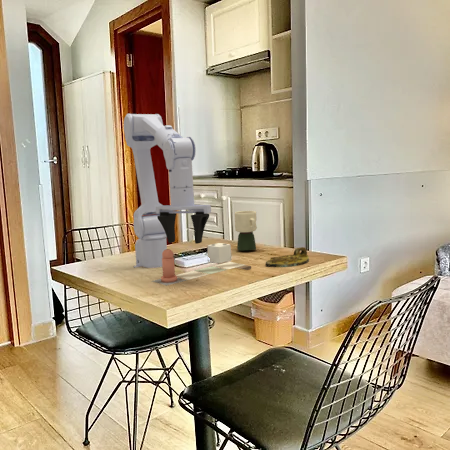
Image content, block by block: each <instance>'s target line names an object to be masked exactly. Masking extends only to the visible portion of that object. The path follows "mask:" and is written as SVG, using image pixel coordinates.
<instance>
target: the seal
mask: <svg viewBox="0 0 450 450" xmlns="http://www.w3.org/2000/svg"><path fill="white" fill-rule="evenodd" d="M309 261H310V258H309V255H308V250H307V248H306V247H305V246H304V247H303V246H302V247H296V248H295V249H294V251H293V254H287V255H281V256H273V257H270V258H269V259H268V260H266V261H265V265H264V266H265V267H271V268H290V267H291V268H292V267H298V266H302V265H305V264H308V263H309Z"/></svg>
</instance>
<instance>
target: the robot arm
mask: <svg viewBox="0 0 450 450" xmlns="http://www.w3.org/2000/svg"><path fill="white" fill-rule="evenodd" d="M162 118H163V117H162V116H161V115H160V114H159V113H155V114H152V113H150V114H149V113H147V114H146V113H143V114H142V113H138V114H137V113H126V115H125V117H124V119H123V132H124V139H125V143H126V146H127V147H129V148H131V150H132V153H133V159H134V160H133V161H134V165H135V171H136V172H135V173H136V177H137V185H138V191H139V197H140V203H141V204H140V206H139V207H138V208H137V209H136V210H135V211H134V212H133V232H134V234H135V236H136V237H137V238H138V239H137V240H136V242H135V246H134V249H135V264H136V265H133V268H139V267H143V268H147V269H153V268H157V269H158V268H162V258H163V257H162V253H163V251H164V250H166V249H168V246H167V242H168V244H169V243H170V244H173V243H175V242H176V219H177V214H190V217H191V221H192V226H193V234H194V236H193V237H194V243H195V244H200V243H202V242H203V236H204V233H205V232H204V231H205V227H206V225H207V222H208V220H209V218H210V214H211V213H212V205H211V204H195V195H194V193H195V192H194V179H193V178H194V177H193V175H194V173H193V160H194V159H195V157H196V151H197V150H196V144H195V141H194V139H193V138H192V137H191V136H186V137H183V136H182V135H180V133H179V132H177V131H176V130H175V129H174V128H173V126H172V125H171V124H169V125H168V124H167V125H165V124H164V122H163V119H162ZM155 146H158V147H159V148H160V149H161V150H162V152H163V157H164V160H165V166H166V169H167V170H168V177H169V178H168V180H169V193H170V194H169V195H170V204H169V205H167V204H166V205H163V204H162V203H160V202H159V197H158V191H157V186H156V179H155V171H154V166H153V161H152V155H151V148H153V147H155Z"/></svg>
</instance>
